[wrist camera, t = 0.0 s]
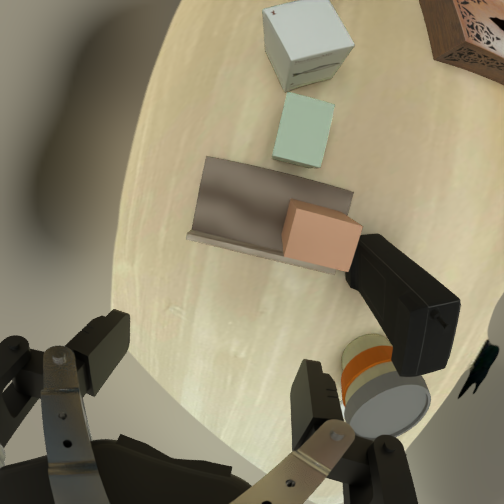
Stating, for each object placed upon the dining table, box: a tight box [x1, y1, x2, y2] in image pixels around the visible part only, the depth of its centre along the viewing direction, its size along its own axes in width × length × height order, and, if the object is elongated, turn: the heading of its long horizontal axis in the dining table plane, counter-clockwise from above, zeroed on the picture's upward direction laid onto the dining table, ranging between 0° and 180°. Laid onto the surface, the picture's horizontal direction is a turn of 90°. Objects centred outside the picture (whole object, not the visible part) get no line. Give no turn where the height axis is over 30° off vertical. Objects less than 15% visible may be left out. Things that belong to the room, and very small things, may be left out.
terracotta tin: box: [281, 199, 363, 272], centre depth 33 cm, size 5×7×10 cm
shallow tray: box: [186, 156, 354, 275], centre depth 38 cm, size 11×20×4 cm, turn 77°
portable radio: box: [345, 234, 461, 377], centre depth 28 cm, size 8×6×25 cm
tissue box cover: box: [419, 0, 504, 85], centre depth 23 cm, size 26×14×10 cm, turn 92°
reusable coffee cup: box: [341, 334, 431, 441], centre depth 38 cm, size 13×13×15 cm
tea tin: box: [272, 92, 335, 168], centre depth 32 cm, size 5×7×10 cm
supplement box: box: [262, 0, 355, 92], centre depth 27 cm, size 7×7×13 cm
